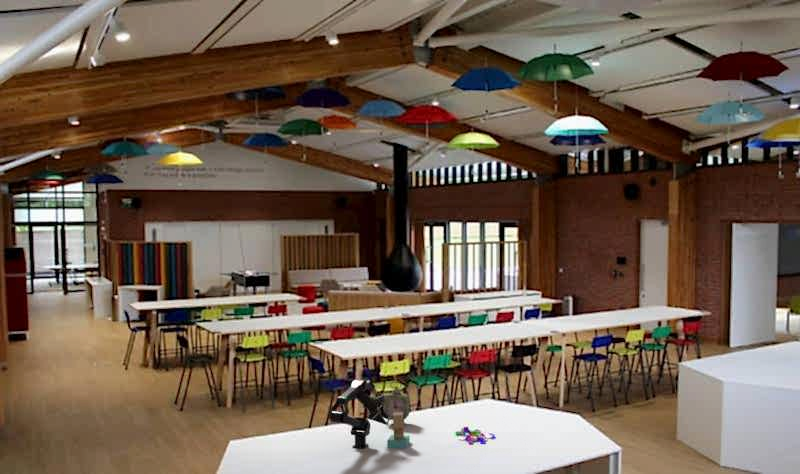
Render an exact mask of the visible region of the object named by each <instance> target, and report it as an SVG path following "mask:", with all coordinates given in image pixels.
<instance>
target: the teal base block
mask: <svg viewBox="0 0 800 474" xmlns="http://www.w3.org/2000/svg"><path fill="white" fill-rule="evenodd" d="M410 440H411V439H410V435H404V439H402V440H394V434H391V435H390V436H389V437H388V439H387V442H386V443H387V444H386V445H387V446H386V447H387V449H407V448H408V446H409V444H410Z"/></svg>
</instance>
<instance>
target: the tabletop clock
mask: <svg viewBox="0 0 800 474" xmlns="http://www.w3.org/2000/svg"><path fill="white" fill-rule="evenodd" d="M394 383H396V384H400V385H401V386H400V387H398V386H395V387H394V386H392V385H393V384H394ZM390 387H391V388H392V389H393V390H392V391H391V392H388V393H387V394H386V395H385V398H386V400H385V402H383V404H384V406H383V409H384V411H385V412H386V414H387V416H388V417H389V419H387V420H386V423H387V424H386V426H387V425H388V424H389V421H393V412H403V427H405V426H407V423H405V420H406V419H407V418H408V417H409V415H410V410H411V402H410V401H411V400H410V397H409V395H408V394H407V393H404V392H401V390H400V389H401V388H402V387H403V385H402V382H400V381H392V382H391V383H390ZM383 404H382V405H383Z"/></svg>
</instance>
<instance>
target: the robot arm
mask: <svg viewBox="0 0 800 474" xmlns="http://www.w3.org/2000/svg"><path fill="white" fill-rule="evenodd" d="M375 389H376V386H375V384H374V383H373V382H372V380H370V379H368V380H366V379H354V380H352V382H351V386H350V387H349V388H348V389H347V390H345V392H343V393H342V394H341V395H340V396H337V398H336V402H335V403H334V404H333V405H332V406H331V408H330V412H329V416H328V417H329V418H328V419H329V421H330V422H331V423H335V424H343V425H347V426H349V427H351V430H350V436H354V445H352V448H355V449H365V448H366V447H368V446H369V444H368V443H367V436H369V435H370V433H371V432H370V431H371V423H370V421H374V422H378V423H379V424H382V425H386V424H387V423H386V422H387V420H388V419H389V417H388V416H387V414H386V412H385V411H384V409H383V406H384V404H383V402H385V400H386V398H385V396H386V395H385V394H384V393H381V392H379V393H378V394H377V396H375V398H374V397H373V396H371V395H372V394H373V392H374V391H375ZM351 400H353V401H356V400H357V401H358V402H360V404H361V405H362V407H363V408H364V409H366V410H367V411H368V418H365V417H359V416H354V417H352V416H349V413H350V410H349V406H348V405H349V402H350V401H351ZM340 405H341V406H344V407H343V408H344V411H341V410H340V411H338V408H339V407H340ZM385 419H386V420H385ZM369 420H370V421H369ZM386 426H387V425H386Z"/></svg>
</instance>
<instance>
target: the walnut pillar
mask: <svg viewBox="0 0 800 474" xmlns="http://www.w3.org/2000/svg"><path fill="white" fill-rule="evenodd" d="M392 421H393V422H392V424H393V426H392V427H393V435H394V440H402V439H404V436H405V435H404V434H405V433H404V430H405V429H404V425H403V412H393V420H392Z"/></svg>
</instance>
